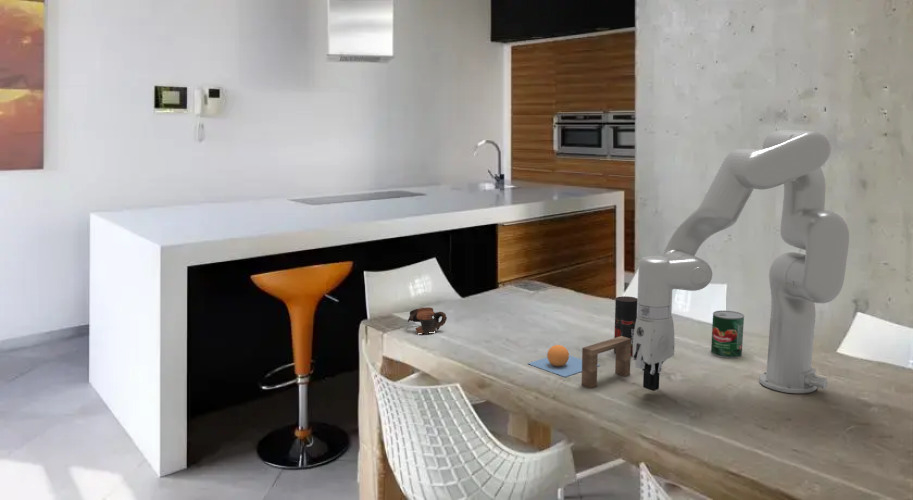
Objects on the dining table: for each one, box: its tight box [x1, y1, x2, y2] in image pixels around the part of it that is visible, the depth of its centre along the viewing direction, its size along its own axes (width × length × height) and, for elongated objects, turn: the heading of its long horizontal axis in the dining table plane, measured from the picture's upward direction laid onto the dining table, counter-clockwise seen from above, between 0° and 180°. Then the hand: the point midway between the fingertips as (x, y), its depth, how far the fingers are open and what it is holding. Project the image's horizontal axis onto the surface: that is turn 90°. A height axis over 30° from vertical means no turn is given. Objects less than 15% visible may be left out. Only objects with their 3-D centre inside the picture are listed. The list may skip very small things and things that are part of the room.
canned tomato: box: [710, 310, 745, 359], centre depth 197 cm, size 8×8×11 cm
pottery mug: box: [407, 307, 448, 334], centre depth 221 cm, size 12×10×8 cm
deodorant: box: [613, 296, 638, 357], centre depth 198 cm, size 6×6×15 cm
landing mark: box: [527, 354, 600, 378], centre depth 190 cm, size 13×13×1 cm
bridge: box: [581, 336, 632, 389], centre depth 178 cm, size 3×14×9 cm, turn 129°
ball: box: [546, 344, 570, 367], centre depth 189 cm, size 6×6×6 cm
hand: (650, 388), depth 169 cm, fingers closed
